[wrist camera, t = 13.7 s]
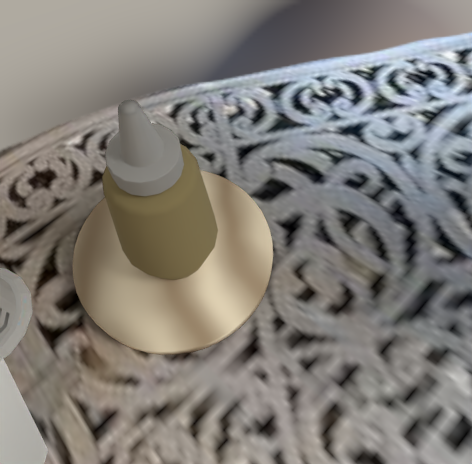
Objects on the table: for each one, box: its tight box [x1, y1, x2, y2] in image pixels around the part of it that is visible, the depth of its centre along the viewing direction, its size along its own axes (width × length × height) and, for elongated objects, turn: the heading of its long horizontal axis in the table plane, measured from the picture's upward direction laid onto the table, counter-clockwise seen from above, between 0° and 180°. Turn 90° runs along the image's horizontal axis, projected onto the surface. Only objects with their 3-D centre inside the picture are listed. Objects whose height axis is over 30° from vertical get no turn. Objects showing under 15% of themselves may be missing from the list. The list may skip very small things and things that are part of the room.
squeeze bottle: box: [102, 100, 218, 280], centre depth 31 cm, size 8×8×18 cm
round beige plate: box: [72, 170, 273, 355], centre depth 38 cm, size 18×18×6 cm
